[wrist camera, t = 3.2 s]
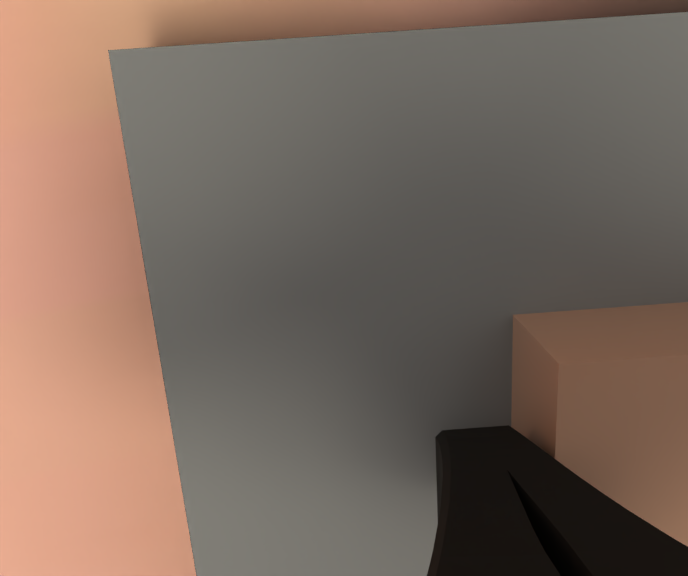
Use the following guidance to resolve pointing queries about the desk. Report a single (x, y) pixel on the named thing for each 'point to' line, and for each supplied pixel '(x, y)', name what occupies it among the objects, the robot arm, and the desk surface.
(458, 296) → the slate plate
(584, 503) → the robot arm
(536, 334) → the terracotta tile
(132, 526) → the desk surface
